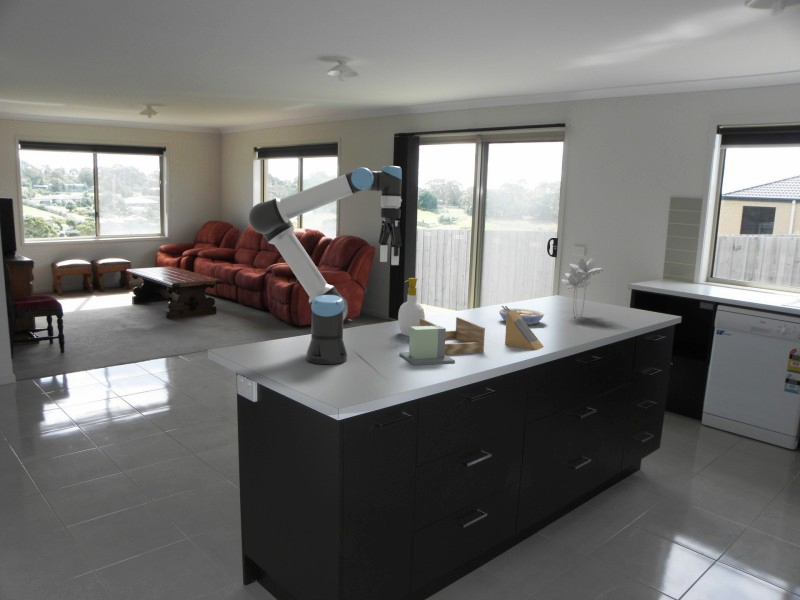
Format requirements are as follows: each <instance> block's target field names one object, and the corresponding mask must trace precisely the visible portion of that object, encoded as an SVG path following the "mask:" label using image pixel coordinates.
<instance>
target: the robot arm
mask: <svg viewBox="0 0 800 600" xmlns="http://www.w3.org/2000/svg"><path fill="white" fill-rule="evenodd" d="M402 171H403V170H402V168H401V166H396V165H383V166H382V169H381V170H378V171H377V170H370V169H369V168H367V167H366V166H365V167H362V166H360V167H358V168H355V169H354V170H351V171H350V172H348V173H345V174H343V175H339V176H338V177H334V178H332V179H329V180H328V181H325V182H322V183H319V184H317V185H314V186H312V187H310V188H307V189H303V190H301V191H299V192H297V193H294V194H291V195H289V196H286V197H283V198H279V197H276V198H273V199H270V200H266V201H263V202H259V203H257V204H255V205H254V206H253V207H251V209H250V210H249V212H248V213H249V214H248V222H249V224H250V227H251V228H252V230H253V231H255V233H258V234H262V235H263V237H264V238H265V240H266V241H267V243H268V244H271V245H274V246H275V247H276V249H277V250H278V252H279V253H280V255H281V256H282V258H283V260H284V261H285V263H286V264H287V265H288V267H289V268H290V269H291V271H292V273H293V274H294V275H295V277H296V279H297V281H298V282H299V283H300V284H301V286H302V287H303V290H304V291H305V292H306V294H307V295H308V297H309V298H308V303H309V305H310V306H311V307H310V308H311V337H310V338H311V339H310V342H309V345H308V347H307V351H306V357H305V360H306V361H307V362H309V363H312V364H319V365H334V364H335V365H336V364H337V365H338V364H342V363H345V362H347V361H348V353H347V349H346V346H345V343H344V342H345V341H344V321H345V319H346V318H347V316H348V313H349V306H348V302H347V300H346V299H345V298H344V297H343V296H342V295H341V294H340V293H339V292H338V290H337V288H336V287H335V286H334V285H332V284H328V282H327V281H326V280H325V278H324V276H323V275H322V273H321V272H320V270H319V268H318V267H317V266H316V265H315V263H314V261H313V260H312V258H311V256H310V255H309V253H307V251H306V249H305V248H304V246H303V245H302V243H301V242H300V240H299V238H298V237H297V236H296V234H295V232H294V231H295V226H294V224H293V223H292V222H291V220H292V219H293V218H295V217H298V216H301V215H303V214H306V213H309V212H311V211H314V210H316V209H319V208H321V207H324V206H326V205H329V204H331V203H334V202H336V201H339V200H341V199H344V198H347V197H349V196H352V195H354V194H358V193H359V192H381V195H380V207H381V208H380V218H383V219H381V228H380V230H379V231H380V233H379V238H378V244H379V245H380V250H379V251H380V252H379V262H380V263H387V262H388V246H389V243H388V242H389V238H390V240H391V243H392V244H391V246H390V248H391V257H390V258H391V259H390V260H391V261H390V265H391V266H399V265H400V263H399V262H400V247H402V245H403V242H402V236H401V229H400V220H397V219H400V218H401V214H402V213H401V212H402V210H401V208H400V207H401V204H402V202H403V199H402V184H403V180H402V179H403V177H402V175H403V173H402ZM290 219H291V220H290Z"/></svg>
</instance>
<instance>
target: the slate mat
mask: <svg viewBox="0 0 800 600" xmlns="http://www.w3.org/2000/svg"><path fill="white" fill-rule="evenodd" d="M399 356H400V357H401V358H403V359H405V360H406V361H408V362H409V363H411V365H413V366H422V365H423V366H424V365H425V366H426V365H427V366H428V365H443V364H444V365H445V364H455V363H456V359H454V358H451V357H450V356H448V355H447V354H445V356H444V357H443V358H424V359H414V358H412V357H411V356H409V351H406V352H405V351H404V352H401V351H399Z"/></svg>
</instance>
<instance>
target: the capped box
mask: <svg viewBox="0 0 800 600" xmlns="http://www.w3.org/2000/svg"><path fill="white" fill-rule="evenodd" d="M446 331H447V330H446V327H443V326H441V325H437V326H414V327H410V336H409V342H408V343H409V348H408V352H409V356H411V357H412V358H414V359H424V358H443V357H444V356H445V355H446V354H445V344H446V339H445V334H446Z"/></svg>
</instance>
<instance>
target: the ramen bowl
mask: <svg viewBox="0 0 800 600" xmlns="http://www.w3.org/2000/svg"><path fill="white" fill-rule="evenodd" d="M515 310H516V311H517V312H518V313H519V315H520V316H521V317H522V319H523V320H524V321H525V323H526V324H527V325H528V326H531V325H532V326H533V324H534V325H536V324H538V323H539V322H540V321H541V320H542V319H543V318H544V315H545V312H544V311H540V310H536V309H530V308H529V309H528V308H517V307H516V308H513V307H511V308H509V307H508V306H507V305H505V306H504V305H501V309H498V312H499V316H500V317H501V318H502V320H503V321H505V322H506V317H507V312H509V311H515Z"/></svg>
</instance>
